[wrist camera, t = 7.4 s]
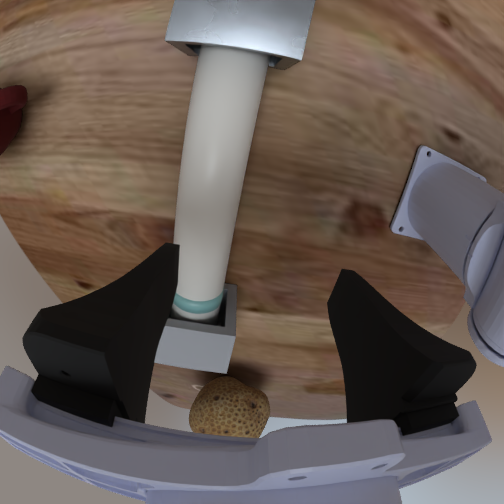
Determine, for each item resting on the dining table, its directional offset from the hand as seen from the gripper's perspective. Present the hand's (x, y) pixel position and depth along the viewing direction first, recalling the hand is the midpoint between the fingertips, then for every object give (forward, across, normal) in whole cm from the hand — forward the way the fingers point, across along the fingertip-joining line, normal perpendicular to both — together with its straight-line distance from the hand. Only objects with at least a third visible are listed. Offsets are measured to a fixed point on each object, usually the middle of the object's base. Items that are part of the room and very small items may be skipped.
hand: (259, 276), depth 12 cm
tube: (+9, +3, -1) cm, 10 cm away
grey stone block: (+10, +3, -15) cm, 18 cm away
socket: (+10, +3, +11) cm, 15 cm away
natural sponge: (+10, -2, +24) cm, 26 cm away
